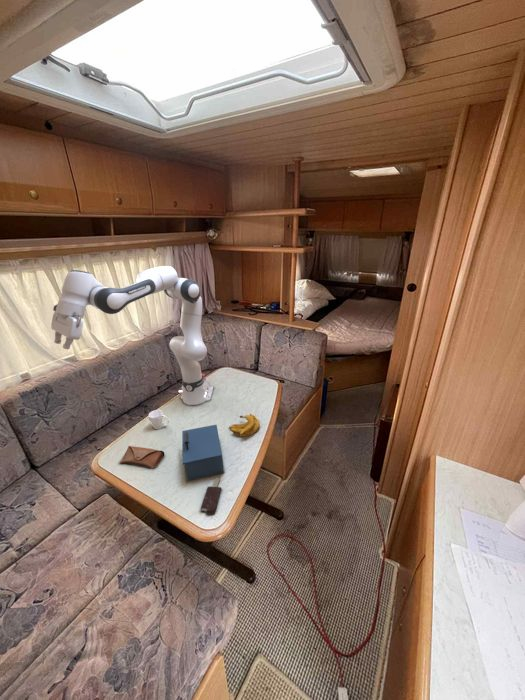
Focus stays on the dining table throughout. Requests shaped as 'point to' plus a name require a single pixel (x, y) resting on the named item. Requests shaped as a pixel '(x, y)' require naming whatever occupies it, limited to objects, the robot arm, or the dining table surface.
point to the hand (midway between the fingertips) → (61, 346)
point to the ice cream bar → (211, 498)
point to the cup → (157, 418)
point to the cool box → (204, 468)
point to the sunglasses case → (142, 456)
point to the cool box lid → (200, 444)
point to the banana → (246, 426)
